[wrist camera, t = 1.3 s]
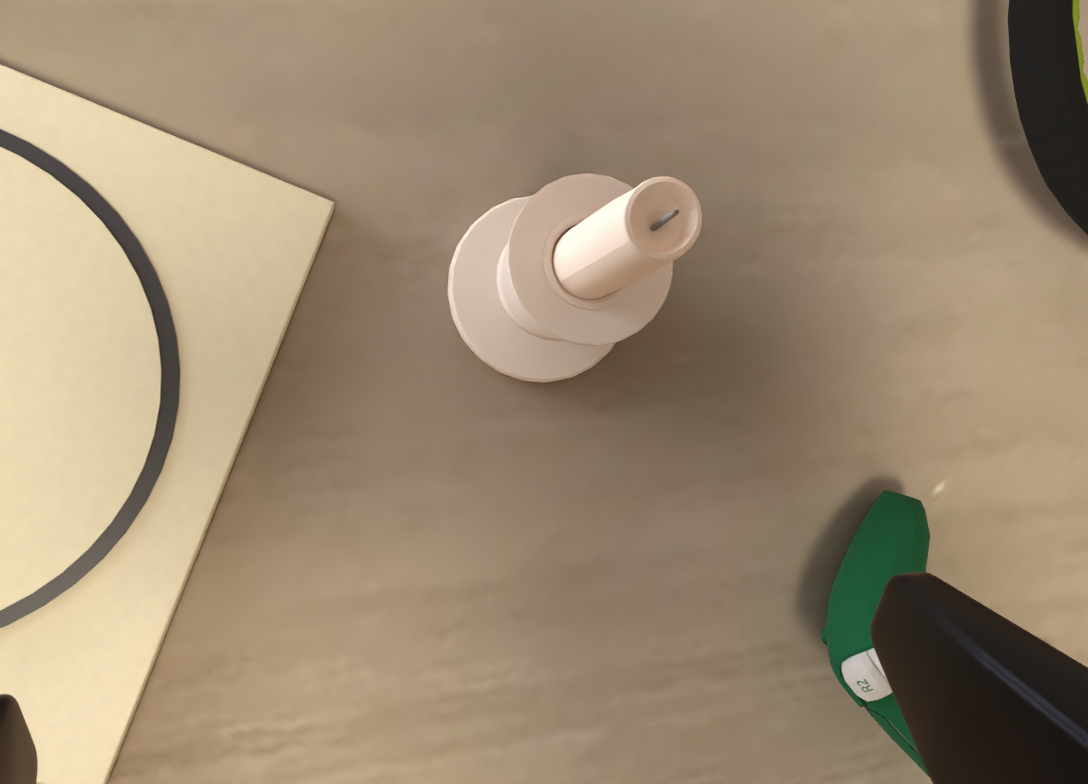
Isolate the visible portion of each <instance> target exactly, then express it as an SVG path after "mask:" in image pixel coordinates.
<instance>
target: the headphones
mask: <svg viewBox="0 0 1088 784" xmlns="http://www.w3.org/2000/svg"><path fill="white" fill-rule="evenodd" d="M1078 22H1079V0H1009V11H1008V30H1009V48H1010V63H1011V71H1012V78H1013V85H1014V92H1015V97H1016V102H1017V107H1018V111H1019V116H1020V120H1021V123H1022V126H1023V129H1024V132H1025V135H1026V138H1027V141H1028V144H1029V147H1030V149H1031V152H1032V154H1033V156H1034V159H1035V161H1036V163H1037V166H1038V168H1039V170H1040V173H1041V175H1042V177H1043V179H1044V181H1045V183H1046V184H1047V186H1048V188H1049V189H1050V190H1051V192H1052V193H1053V195H1054V196H1055V197H1056V199H1057V200H1058V202H1059V203H1060V204H1061V206H1062V207H1063V208H1064V210H1065V211H1066V213H1067V214H1068V215H1069V216H1070V217H1071V218H1072V219H1073V220H1074V221H1075V222H1076V223H1077V224H1078V225H1079V226H1080V227H1081V228H1082V229H1083V230H1084V231H1085V232H1086V234H1087V235H1088V81H1087V78H1086V77H1085V75H1084V73H1083V64H1084V59H1083V51H1082V44H1081V37H1080V35H1079V32H1078V30H1077V26H1078Z"/></svg>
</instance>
